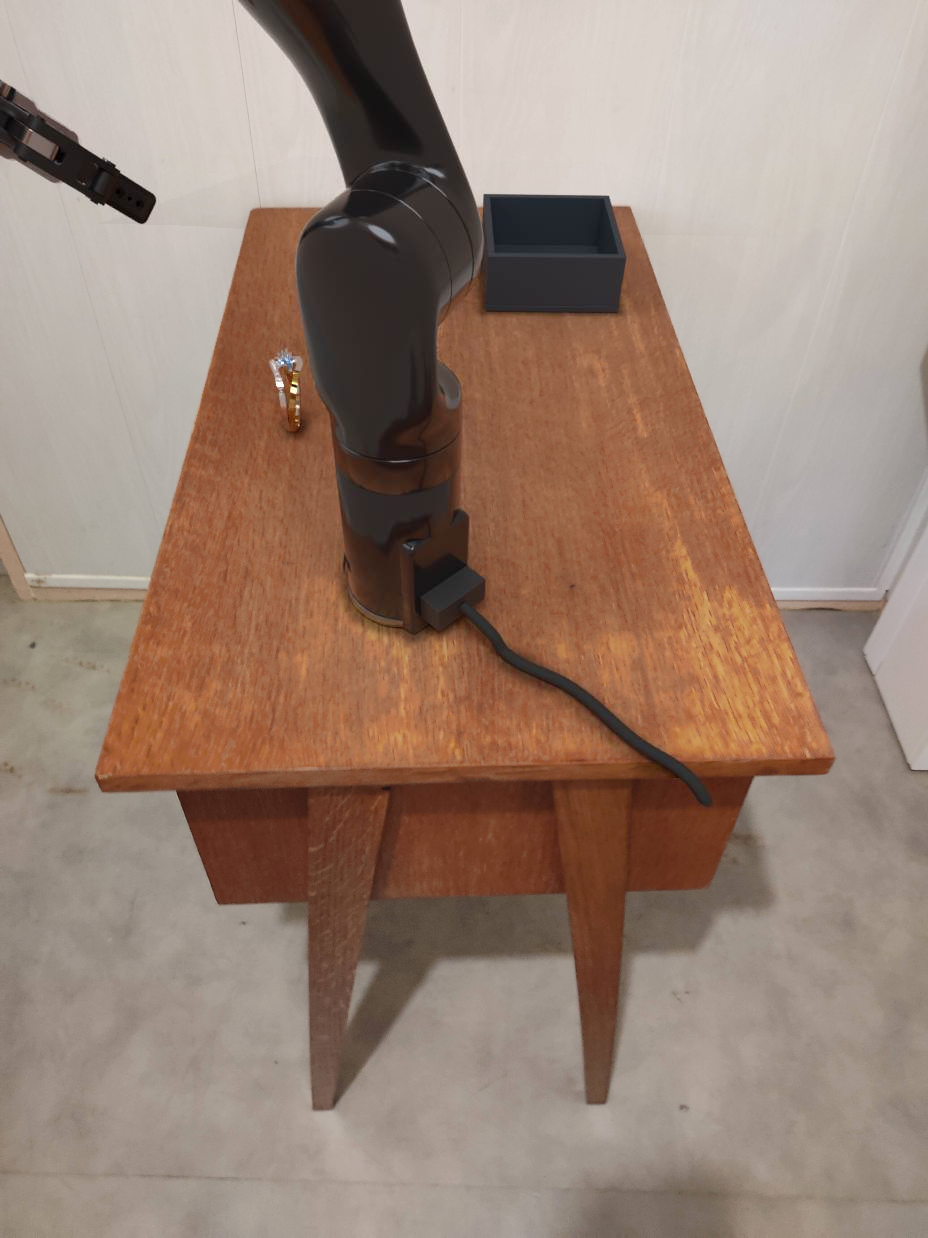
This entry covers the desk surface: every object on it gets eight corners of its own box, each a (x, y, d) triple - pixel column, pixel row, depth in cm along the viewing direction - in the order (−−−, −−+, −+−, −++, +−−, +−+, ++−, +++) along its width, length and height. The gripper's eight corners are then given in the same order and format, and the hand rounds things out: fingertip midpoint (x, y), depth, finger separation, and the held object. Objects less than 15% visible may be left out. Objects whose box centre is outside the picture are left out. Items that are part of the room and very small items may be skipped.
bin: (617, 312, 103) (626, 257, 98) (485, 311, 103) (488, 255, 98) (601, 248, 113) (609, 195, 108) (481, 246, 113) (483, 193, 108)
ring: (285, 403, 90) (273, 334, 84) (316, 404, 90) (307, 335, 84) (274, 446, 86) (261, 376, 80) (306, 447, 86) (296, 377, 80)
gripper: (-45, 3, 45) (196, 173, 59) (-149, -55, 51) (91, 110, 65) (-102, 142, 46) (146, 274, 60) (-196, 68, 53) (48, 203, 67)
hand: (117, 189), depth 63 cm, fingers open, 8 cm apart
